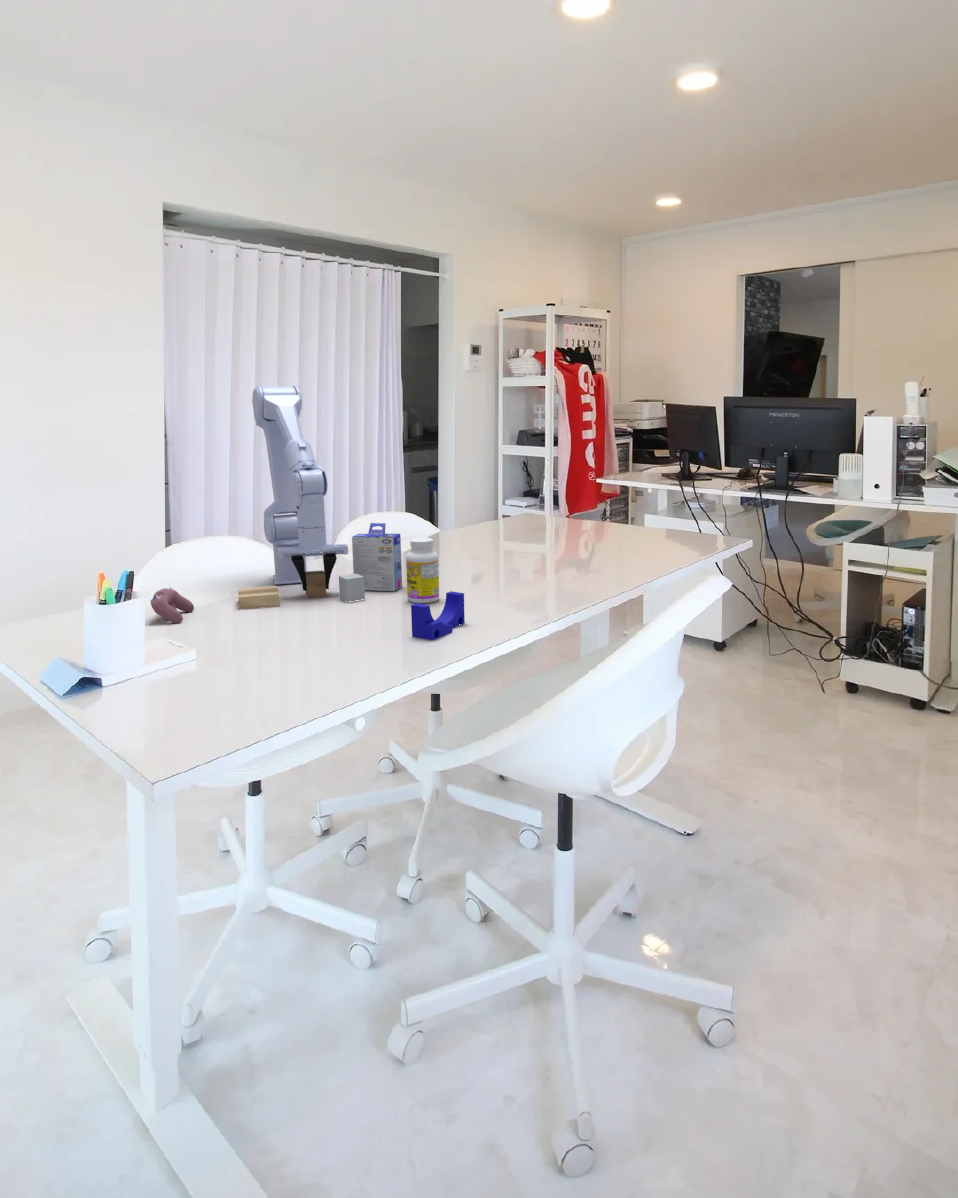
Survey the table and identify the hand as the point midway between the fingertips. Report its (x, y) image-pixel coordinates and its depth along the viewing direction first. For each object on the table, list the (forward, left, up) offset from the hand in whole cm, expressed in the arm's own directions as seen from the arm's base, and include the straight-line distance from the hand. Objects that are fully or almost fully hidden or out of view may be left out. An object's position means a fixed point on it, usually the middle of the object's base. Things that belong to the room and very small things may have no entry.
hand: (315, 589), depth 174 cm
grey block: (+6, +7, -2) cm, 9 cm away
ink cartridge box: (-2, +14, -2) cm, 14 cm away
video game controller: (+9, -28, -2) cm, 30 cm away
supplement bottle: (+12, +21, -2) cm, 24 cm away
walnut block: (0, 0, -1) cm, 1 cm away
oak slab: (+3, -12, -2) cm, 12 cm away
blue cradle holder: (+35, +19, -2) cm, 40 cm away
